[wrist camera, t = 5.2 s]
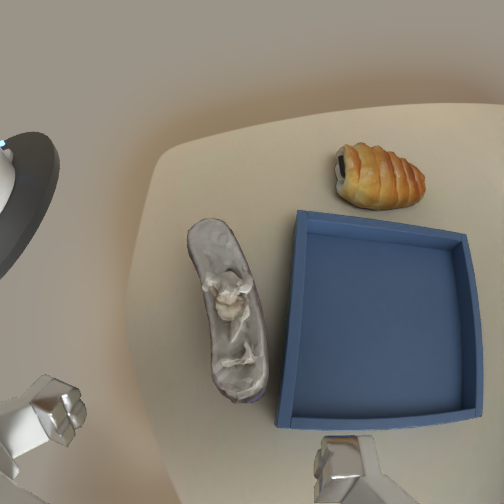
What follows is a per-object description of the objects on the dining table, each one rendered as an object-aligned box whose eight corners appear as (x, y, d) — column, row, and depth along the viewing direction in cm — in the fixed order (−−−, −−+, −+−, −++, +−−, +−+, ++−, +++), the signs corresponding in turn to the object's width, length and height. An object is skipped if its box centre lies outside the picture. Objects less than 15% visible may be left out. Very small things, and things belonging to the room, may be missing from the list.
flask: (206, 286, 23) (174, 199, 14) (244, 277, 23) (236, 185, 14) (234, 406, 19) (214, 411, 9) (276, 396, 19) (296, 391, 10)
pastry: (412, 168, 29) (424, 144, 26) (426, 220, 26) (444, 196, 22) (330, 157, 29) (337, 129, 26) (336, 211, 26) (346, 183, 23)
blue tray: (274, 424, 18) (276, 427, 16) (294, 227, 25) (297, 209, 23) (463, 418, 17) (482, 416, 15) (452, 248, 24) (466, 233, 22)
